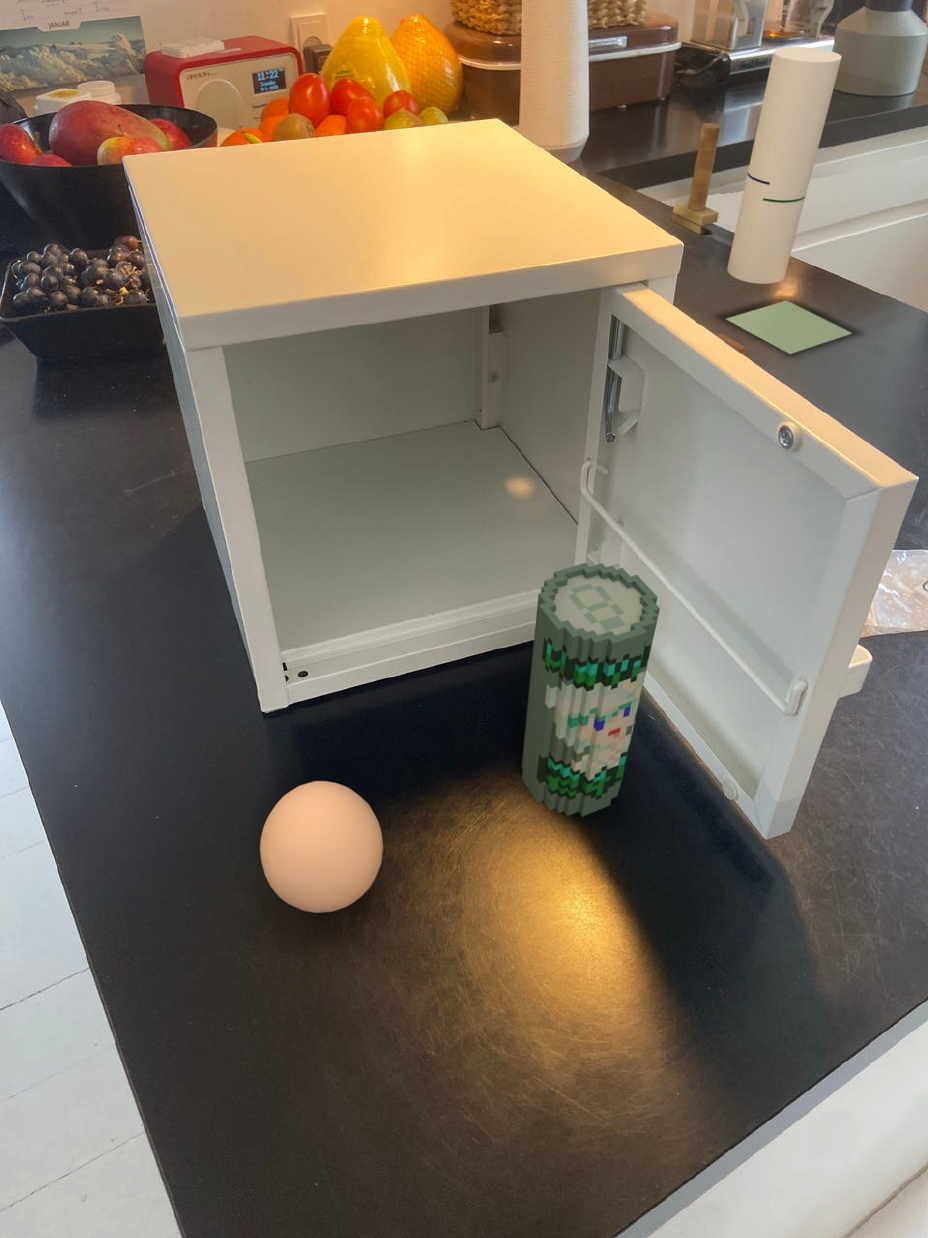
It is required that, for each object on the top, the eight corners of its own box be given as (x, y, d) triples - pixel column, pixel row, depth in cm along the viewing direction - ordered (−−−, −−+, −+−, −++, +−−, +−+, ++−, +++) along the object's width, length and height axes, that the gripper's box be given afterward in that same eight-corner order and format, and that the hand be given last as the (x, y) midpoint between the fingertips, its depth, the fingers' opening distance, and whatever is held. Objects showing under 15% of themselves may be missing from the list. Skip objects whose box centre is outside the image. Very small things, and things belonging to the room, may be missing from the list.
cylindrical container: (745, 264, 120) (795, 43, 103) (793, 281, 116) (853, 55, 99) (714, 279, 116) (760, 53, 99) (763, 297, 112) (820, 65, 95)
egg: (406, 900, 52) (402, 819, 46) (299, 959, 49) (281, 880, 44) (353, 817, 56) (343, 733, 51) (251, 866, 53) (229, 784, 48)
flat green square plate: (783, 309, 110) (786, 300, 109) (849, 342, 104) (852, 332, 103) (723, 328, 106) (725, 318, 105) (787, 363, 100) (790, 353, 99)
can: (553, 828, 56) (578, 655, 45) (507, 756, 60) (521, 581, 49) (637, 794, 58) (679, 620, 47) (587, 726, 62) (616, 553, 51)
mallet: (671, 220, 131) (687, 121, 122) (686, 217, 132) (704, 118, 123) (699, 234, 127) (718, 132, 119) (715, 230, 129) (735, 129, 120)
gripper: (732, -106, 108) (715, 32, 115) (886, -94, 112) (860, 39, 119) (709, -95, 114) (693, 36, 120) (856, -84, 118) (833, 42, 124)
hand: (777, 38), depth 120 cm, fingers open, 8 cm apart
